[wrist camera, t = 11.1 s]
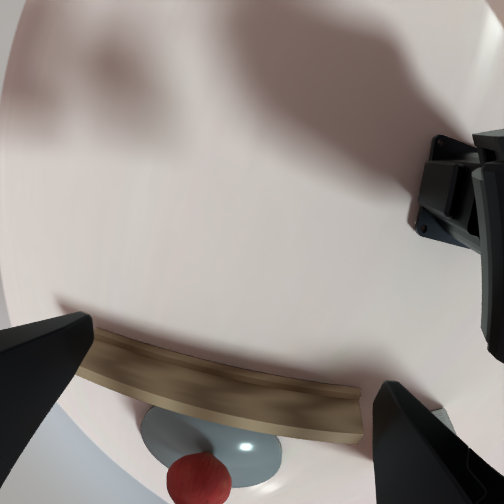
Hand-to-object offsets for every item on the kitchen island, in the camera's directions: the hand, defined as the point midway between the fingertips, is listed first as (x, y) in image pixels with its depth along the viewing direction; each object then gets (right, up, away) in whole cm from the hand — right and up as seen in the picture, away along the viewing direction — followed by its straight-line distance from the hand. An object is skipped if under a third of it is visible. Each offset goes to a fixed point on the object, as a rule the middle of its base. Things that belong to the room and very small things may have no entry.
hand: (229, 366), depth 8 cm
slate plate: (-3, -16, +18) cm, 24 cm away
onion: (-3, -16, +17) cm, 24 cm away
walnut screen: (-2, -6, +15) cm, 16 cm away
